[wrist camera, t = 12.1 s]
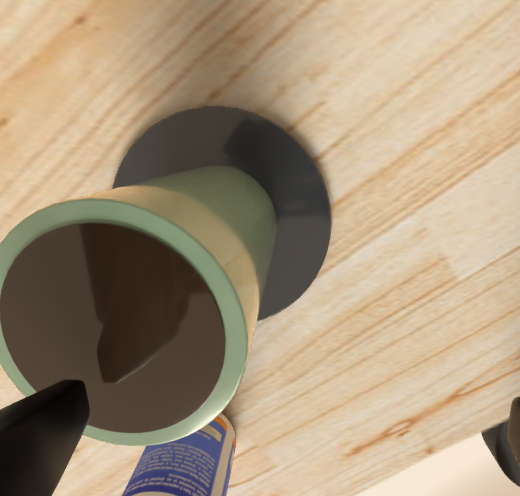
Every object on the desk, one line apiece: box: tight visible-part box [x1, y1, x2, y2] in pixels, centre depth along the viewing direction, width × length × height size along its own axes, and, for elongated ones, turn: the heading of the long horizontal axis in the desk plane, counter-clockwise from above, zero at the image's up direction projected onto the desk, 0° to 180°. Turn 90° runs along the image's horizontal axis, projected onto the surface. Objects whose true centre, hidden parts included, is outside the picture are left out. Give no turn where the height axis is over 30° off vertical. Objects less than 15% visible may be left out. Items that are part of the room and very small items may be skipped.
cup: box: [0, 165, 278, 446], centre depth 14 cm, size 13×6×13 cm
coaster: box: [113, 106, 331, 322], centre depth 20 cm, size 12×12×1 cm
